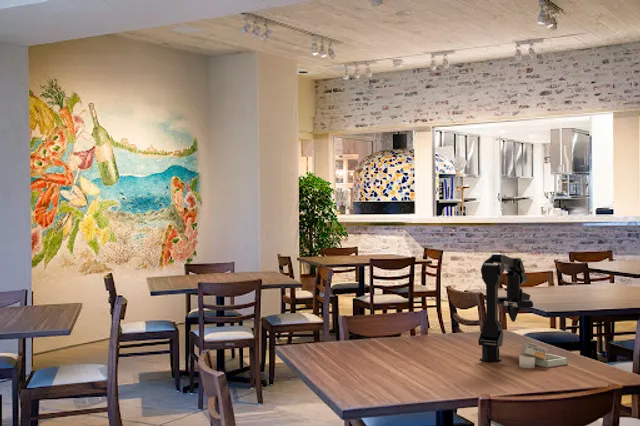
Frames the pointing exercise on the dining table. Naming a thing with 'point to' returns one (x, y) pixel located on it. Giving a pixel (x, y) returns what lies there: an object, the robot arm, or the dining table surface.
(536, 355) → the supplement box
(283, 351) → the dining table surface
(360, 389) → the dining table surface
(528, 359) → the white rounded block
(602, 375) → the dining table surface
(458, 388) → the dining table surface
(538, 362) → the squared c-shaped bracket
